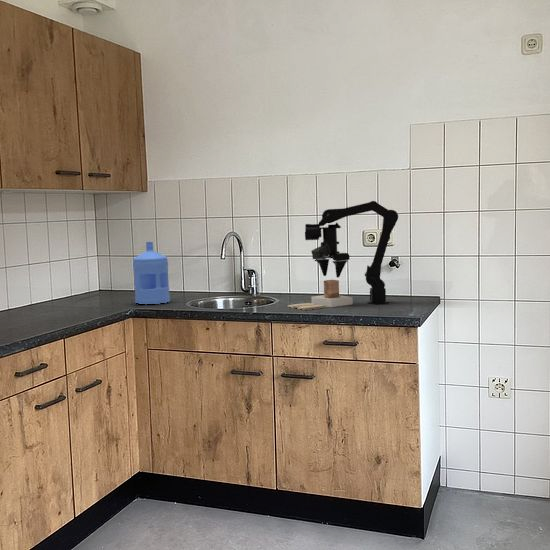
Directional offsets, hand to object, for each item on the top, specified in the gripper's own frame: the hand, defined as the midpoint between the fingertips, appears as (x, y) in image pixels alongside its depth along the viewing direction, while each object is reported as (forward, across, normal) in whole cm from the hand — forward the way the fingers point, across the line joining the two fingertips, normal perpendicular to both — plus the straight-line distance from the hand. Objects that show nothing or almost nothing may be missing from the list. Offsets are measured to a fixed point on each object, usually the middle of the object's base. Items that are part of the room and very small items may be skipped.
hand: (331, 276), depth 277 cm
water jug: (+11, -63, -55) cm, 85 cm away
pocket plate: (+12, 0, 0) cm, 12 cm away
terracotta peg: (+12, 0, 0) cm, 12 cm away
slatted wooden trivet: (+12, 0, -13) cm, 17 cm away
